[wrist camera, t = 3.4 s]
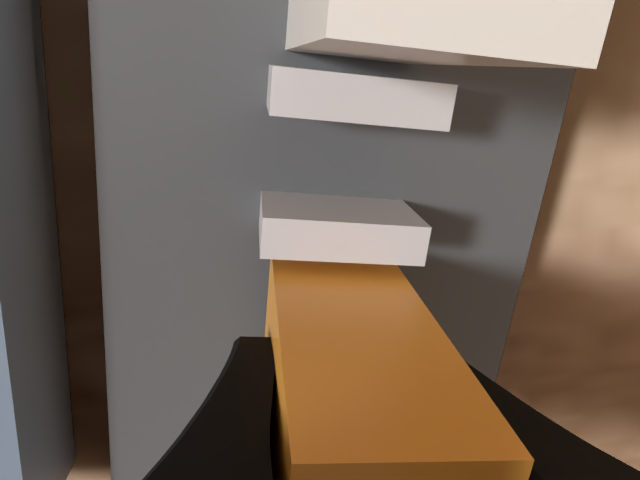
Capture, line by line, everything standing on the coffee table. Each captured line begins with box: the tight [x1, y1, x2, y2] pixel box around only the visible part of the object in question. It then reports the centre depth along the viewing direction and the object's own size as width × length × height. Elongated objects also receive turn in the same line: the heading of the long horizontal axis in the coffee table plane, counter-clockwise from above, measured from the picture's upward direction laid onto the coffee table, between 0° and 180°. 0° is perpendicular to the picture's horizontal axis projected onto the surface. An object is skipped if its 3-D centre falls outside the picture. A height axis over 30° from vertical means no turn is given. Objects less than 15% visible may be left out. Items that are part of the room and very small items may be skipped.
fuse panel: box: [88, 0, 576, 480], centre depth 12 cm, size 24×10×4 cm, turn 174°
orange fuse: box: [265, 259, 534, 480], centre depth 9 cm, size 4×3×6 cm, turn 174°
